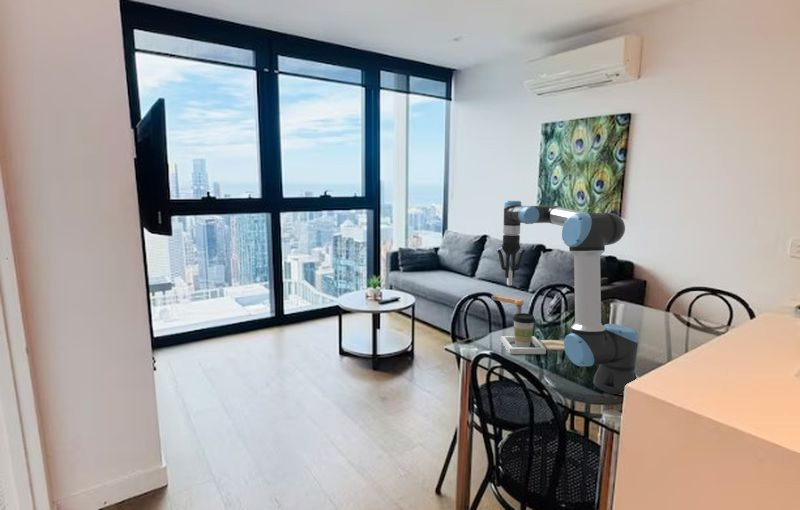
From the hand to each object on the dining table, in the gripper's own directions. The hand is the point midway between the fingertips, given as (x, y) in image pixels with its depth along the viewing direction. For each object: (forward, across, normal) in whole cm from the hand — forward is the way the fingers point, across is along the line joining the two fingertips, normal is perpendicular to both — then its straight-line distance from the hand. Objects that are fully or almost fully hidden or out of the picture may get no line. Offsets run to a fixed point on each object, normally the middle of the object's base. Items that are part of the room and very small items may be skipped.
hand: (509, 284), depth 210 cm
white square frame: (+28, -5, +7) cm, 29 cm away
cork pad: (+28, -22, +6) cm, 36 cm away
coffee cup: (+28, -5, +8) cm, 29 cm away
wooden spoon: (+9, -1, -4) cm, 10 cm away
